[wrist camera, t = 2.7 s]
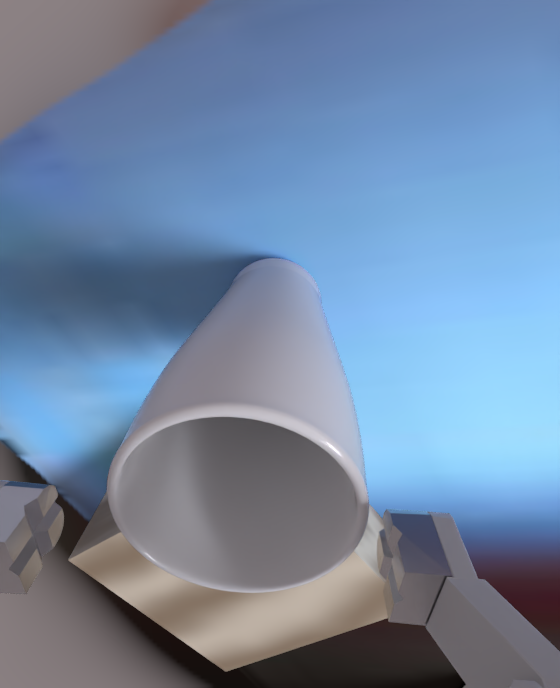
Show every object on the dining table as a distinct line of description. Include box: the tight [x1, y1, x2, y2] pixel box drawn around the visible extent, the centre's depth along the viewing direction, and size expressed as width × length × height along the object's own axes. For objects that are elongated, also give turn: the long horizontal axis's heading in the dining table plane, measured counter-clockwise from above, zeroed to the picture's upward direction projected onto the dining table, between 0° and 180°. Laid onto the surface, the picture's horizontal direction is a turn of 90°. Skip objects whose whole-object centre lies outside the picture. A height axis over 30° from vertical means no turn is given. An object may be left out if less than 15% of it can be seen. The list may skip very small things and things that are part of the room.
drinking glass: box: [107, 258, 369, 593], centre depth 17 cm, size 7×7×15 cm
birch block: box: [68, 492, 388, 671], centre depth 29 cm, size 16×16×6 cm
